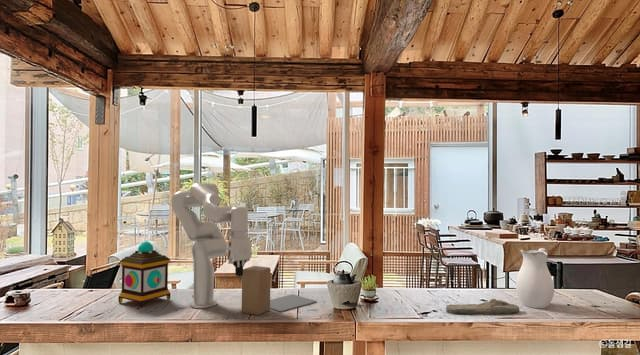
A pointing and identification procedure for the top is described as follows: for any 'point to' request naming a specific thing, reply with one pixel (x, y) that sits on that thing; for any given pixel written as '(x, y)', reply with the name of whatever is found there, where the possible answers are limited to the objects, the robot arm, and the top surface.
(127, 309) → the top surface
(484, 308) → the long grey stone
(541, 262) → the pitcher
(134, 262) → the decorative lantern
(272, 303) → the mat
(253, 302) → the wooden block
